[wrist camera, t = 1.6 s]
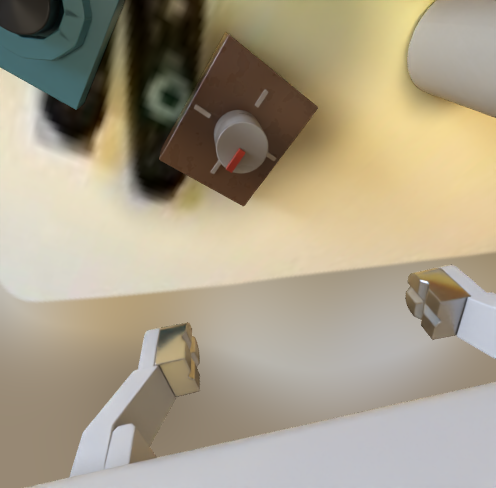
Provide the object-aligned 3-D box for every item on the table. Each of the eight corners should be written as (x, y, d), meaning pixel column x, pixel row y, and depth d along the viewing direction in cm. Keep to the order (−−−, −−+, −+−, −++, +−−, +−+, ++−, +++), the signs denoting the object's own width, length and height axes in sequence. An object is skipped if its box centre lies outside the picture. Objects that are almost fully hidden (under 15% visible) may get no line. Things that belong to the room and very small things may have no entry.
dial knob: (231, 99, 25) (235, 111, 22) (270, 127, 27) (279, 142, 24) (205, 141, 27) (206, 158, 24) (243, 165, 29) (249, 184, 26)
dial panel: (225, 31, 25) (228, 34, 22) (308, 99, 29) (319, 108, 26) (161, 147, 30) (158, 160, 27) (240, 192, 34) (244, 207, 31)
